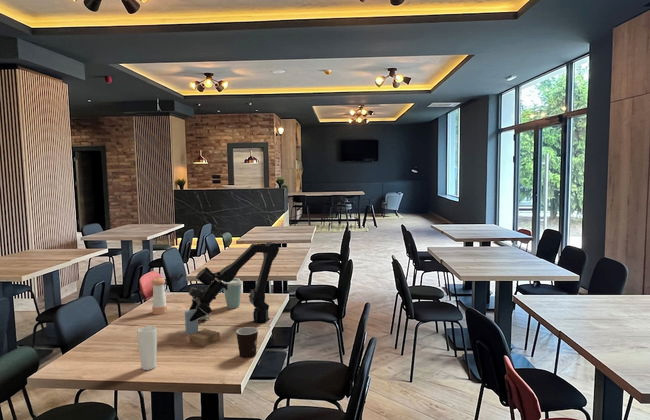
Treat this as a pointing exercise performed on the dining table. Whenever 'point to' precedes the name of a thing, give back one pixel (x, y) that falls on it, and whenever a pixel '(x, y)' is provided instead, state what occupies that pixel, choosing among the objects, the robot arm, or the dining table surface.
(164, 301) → the salt shaker
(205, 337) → the walnut block
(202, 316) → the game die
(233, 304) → the disposable coffee cup
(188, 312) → the blue block
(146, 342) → the drinking glass
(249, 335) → the coffee mug
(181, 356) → the dining table surface
